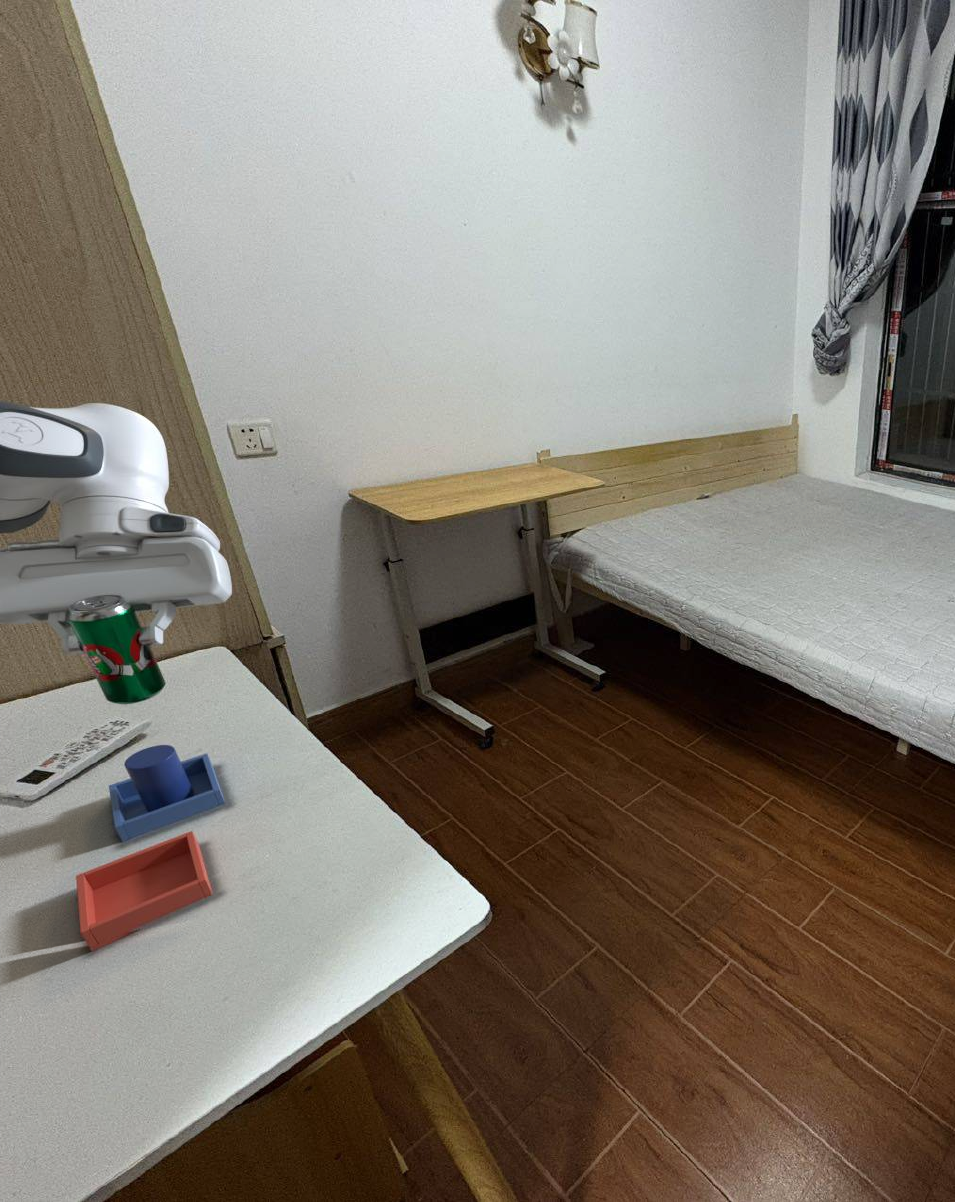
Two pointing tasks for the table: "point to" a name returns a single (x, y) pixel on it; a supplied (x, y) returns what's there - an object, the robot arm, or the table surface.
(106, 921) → the red tray
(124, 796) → the blue tray
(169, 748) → the blue solid cylinder
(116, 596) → the soda can
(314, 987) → the table surface
